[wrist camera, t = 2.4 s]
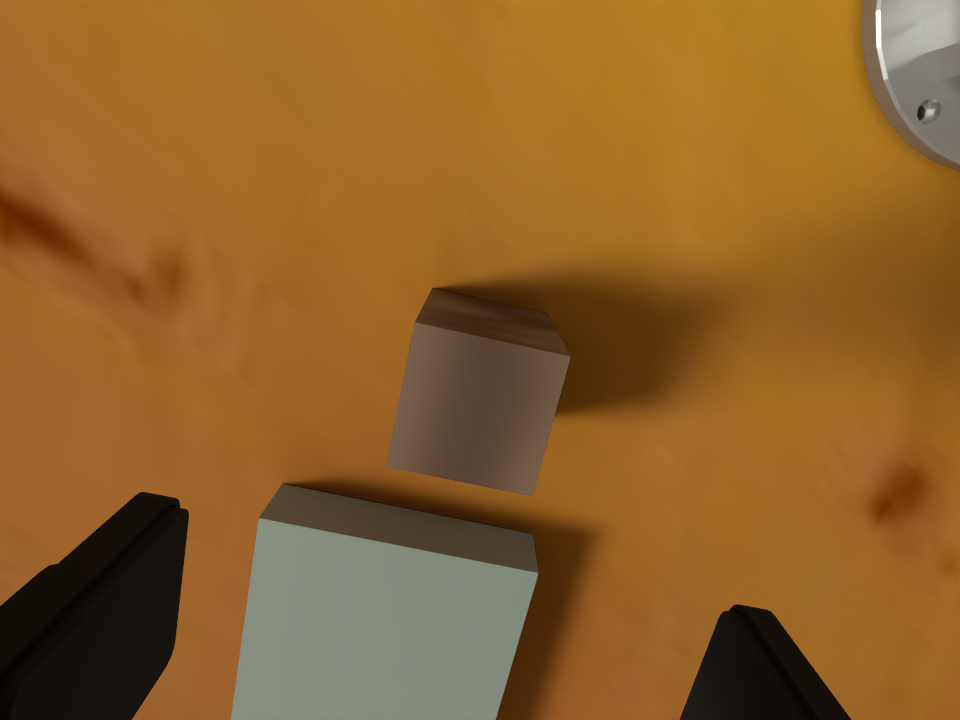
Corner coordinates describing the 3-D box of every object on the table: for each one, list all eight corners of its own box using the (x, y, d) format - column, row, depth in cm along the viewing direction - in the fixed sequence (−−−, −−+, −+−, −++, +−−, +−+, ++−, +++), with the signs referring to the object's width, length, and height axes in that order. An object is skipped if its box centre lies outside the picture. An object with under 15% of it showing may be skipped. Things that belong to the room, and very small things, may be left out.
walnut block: (546, 313, 25) (570, 356, 18) (519, 419, 27) (532, 496, 20) (432, 287, 25) (414, 322, 18) (410, 396, 26) (386, 466, 20)
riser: (532, 534, 28) (538, 573, 25) (477, 728, 31) (477, 782, 28) (282, 483, 27) (259, 518, 24) (251, 687, 30) (228, 739, 28)
